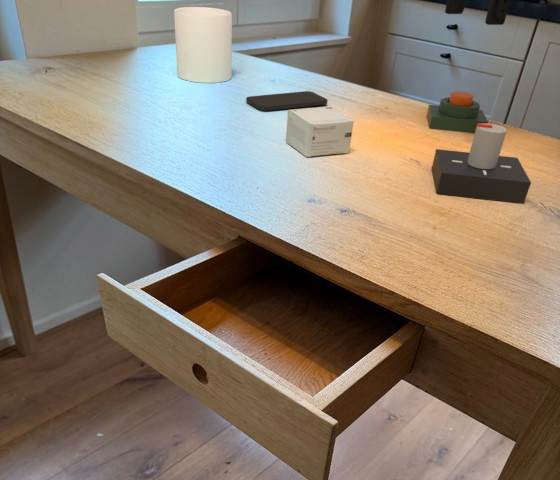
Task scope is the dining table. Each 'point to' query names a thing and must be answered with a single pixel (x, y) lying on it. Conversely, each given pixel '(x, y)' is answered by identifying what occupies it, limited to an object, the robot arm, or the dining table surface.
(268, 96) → the phone
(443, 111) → the button block
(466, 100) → the button
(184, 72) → the cup
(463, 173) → the control panel
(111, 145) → the dining table surface
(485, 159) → the knob
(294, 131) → the small box
